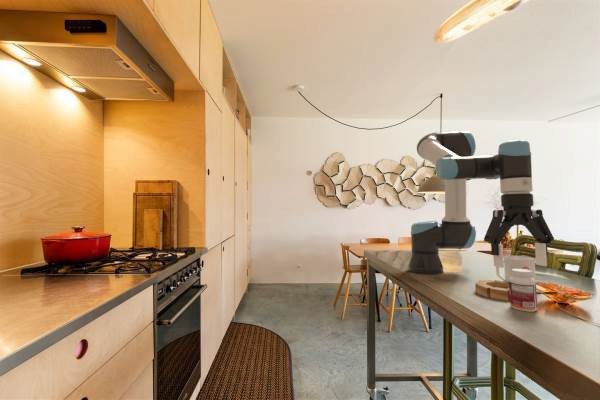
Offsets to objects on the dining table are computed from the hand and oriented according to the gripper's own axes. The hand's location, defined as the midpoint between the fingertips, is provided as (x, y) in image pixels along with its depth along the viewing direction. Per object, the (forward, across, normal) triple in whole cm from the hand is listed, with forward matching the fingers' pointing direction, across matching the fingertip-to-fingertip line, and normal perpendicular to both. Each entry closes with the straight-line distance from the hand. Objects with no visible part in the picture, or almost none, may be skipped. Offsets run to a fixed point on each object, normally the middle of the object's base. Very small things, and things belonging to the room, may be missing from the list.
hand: (520, 266), depth 82 cm
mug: (+12, +16, +20) cm, 28 cm away
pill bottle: (+12, 0, 0) cm, 12 cm away
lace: (+12, +19, +12) cm, 25 cm away
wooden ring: (+12, +5, +14) cm, 19 cm away
